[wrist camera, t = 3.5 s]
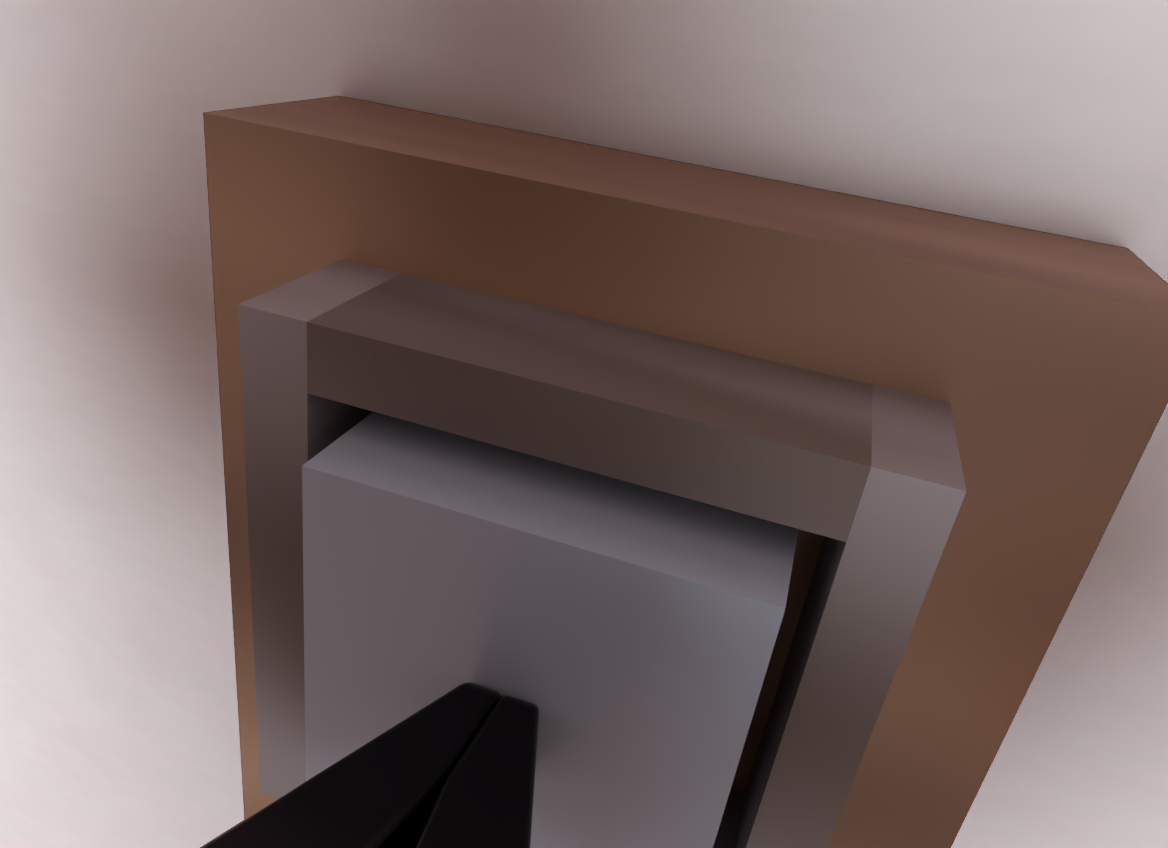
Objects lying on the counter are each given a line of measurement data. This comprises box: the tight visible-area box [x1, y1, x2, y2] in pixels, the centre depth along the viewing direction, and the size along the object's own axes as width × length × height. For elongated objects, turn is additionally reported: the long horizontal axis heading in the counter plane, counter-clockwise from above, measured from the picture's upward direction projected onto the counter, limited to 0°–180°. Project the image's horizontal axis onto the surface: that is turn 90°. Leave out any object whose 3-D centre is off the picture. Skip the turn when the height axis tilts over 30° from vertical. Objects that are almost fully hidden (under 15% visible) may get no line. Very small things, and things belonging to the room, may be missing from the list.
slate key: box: [302, 412, 798, 848], centre depth 10 cm, size 5×5×2 cm
